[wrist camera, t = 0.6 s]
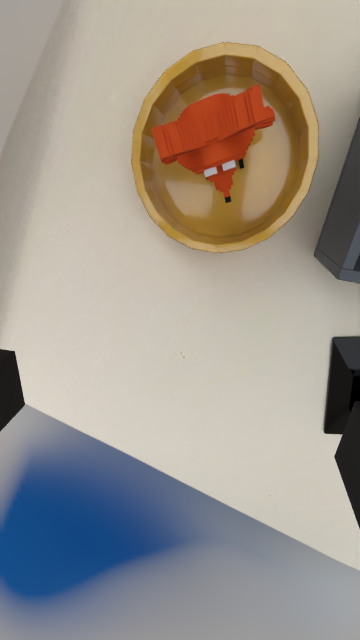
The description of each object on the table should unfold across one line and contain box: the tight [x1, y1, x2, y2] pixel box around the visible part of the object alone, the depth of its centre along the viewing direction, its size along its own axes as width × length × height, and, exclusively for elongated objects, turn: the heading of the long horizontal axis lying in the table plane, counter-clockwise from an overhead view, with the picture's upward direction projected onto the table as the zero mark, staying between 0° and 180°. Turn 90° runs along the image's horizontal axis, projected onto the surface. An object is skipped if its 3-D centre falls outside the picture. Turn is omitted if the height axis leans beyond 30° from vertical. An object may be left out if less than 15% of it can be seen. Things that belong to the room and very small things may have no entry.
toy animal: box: [151, 84, 275, 203], centre depth 21 cm, size 8×6×12 cm
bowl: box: [131, 42, 319, 253], centre depth 25 cm, size 13×13×4 cm
